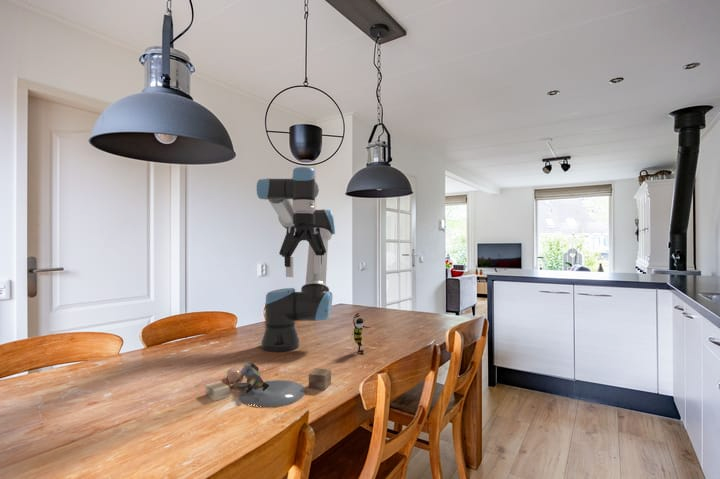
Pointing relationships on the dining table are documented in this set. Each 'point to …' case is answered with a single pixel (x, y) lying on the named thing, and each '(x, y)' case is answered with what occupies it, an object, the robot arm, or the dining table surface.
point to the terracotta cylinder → (233, 374)
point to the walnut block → (320, 379)
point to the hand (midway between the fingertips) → (304, 275)
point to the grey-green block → (217, 390)
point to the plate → (273, 394)
